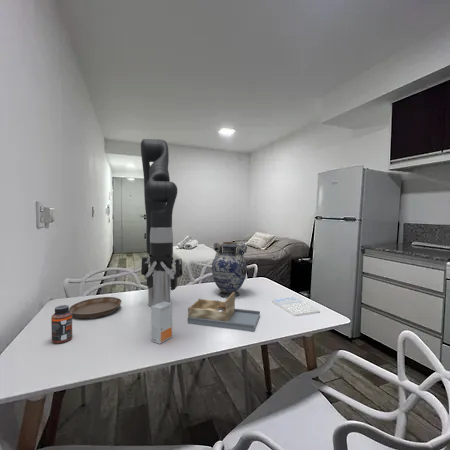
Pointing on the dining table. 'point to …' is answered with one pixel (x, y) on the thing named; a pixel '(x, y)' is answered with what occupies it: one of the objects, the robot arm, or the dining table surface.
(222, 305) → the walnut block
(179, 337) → the dining table surface
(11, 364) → the dining table surface
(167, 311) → the skincare box
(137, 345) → the dining table surface
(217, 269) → the decorative vase
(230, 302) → the wooden drawer
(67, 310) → the supplement bottle
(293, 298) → the white flat textured slab
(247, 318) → the rail board
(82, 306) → the plant saucer
